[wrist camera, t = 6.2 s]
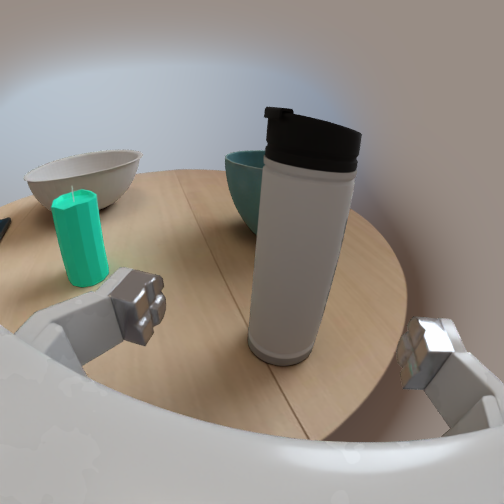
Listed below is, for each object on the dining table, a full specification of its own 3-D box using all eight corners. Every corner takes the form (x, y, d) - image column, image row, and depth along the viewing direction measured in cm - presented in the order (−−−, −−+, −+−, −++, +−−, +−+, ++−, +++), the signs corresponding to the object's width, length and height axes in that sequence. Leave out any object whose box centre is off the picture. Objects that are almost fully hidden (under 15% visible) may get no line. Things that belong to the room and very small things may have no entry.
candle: (76, 262, 34) (61, 180, 28) (113, 261, 35) (101, 176, 30) (62, 287, 29) (40, 196, 23) (103, 287, 30) (84, 191, 24)
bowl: (63, 191, 63) (59, 156, 58) (154, 185, 67) (153, 147, 62) (10, 236, 39) (-1, 188, 34) (128, 231, 44) (122, 173, 39)
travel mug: (233, 330, 27) (246, 105, 17) (289, 313, 30) (321, 114, 20) (264, 378, 22) (303, 109, 12) (325, 352, 25) (383, 126, 15)
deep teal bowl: (215, 212, 53) (218, 148, 47) (304, 210, 57) (312, 152, 51) (233, 262, 38) (238, 171, 32) (349, 254, 42) (366, 178, 36)
